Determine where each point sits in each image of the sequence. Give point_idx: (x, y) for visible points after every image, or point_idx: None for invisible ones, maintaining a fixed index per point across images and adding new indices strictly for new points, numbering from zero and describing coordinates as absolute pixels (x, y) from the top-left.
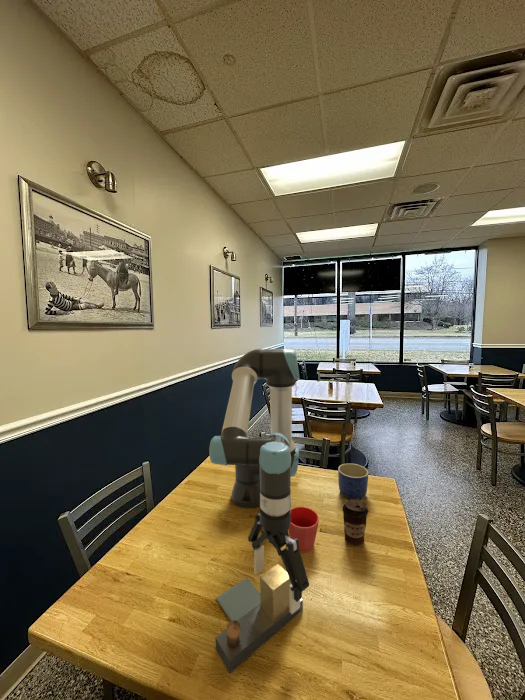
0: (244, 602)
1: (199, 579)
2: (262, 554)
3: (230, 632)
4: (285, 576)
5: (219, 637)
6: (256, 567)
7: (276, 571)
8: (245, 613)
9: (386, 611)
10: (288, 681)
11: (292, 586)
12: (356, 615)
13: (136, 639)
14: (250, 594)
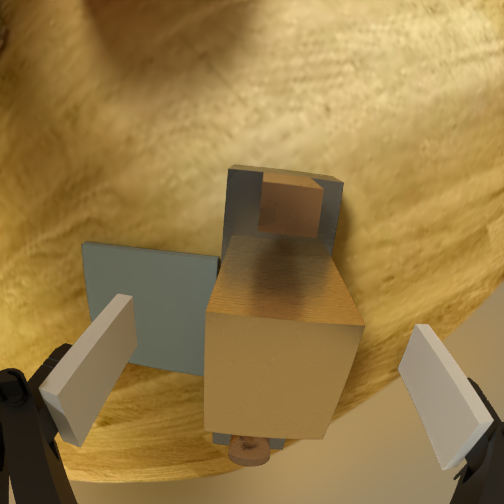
0: (157, 315)
1: (31, 337)
2: (88, 368)
3: (254, 464)
4: (329, 352)
5: (220, 439)
6: (122, 365)
7: (249, 364)
8: (192, 338)
9: (501, 18)
10: (400, 355)
11: (458, 462)
12: (467, 70)
13: (112, 459)
14: (144, 283)
